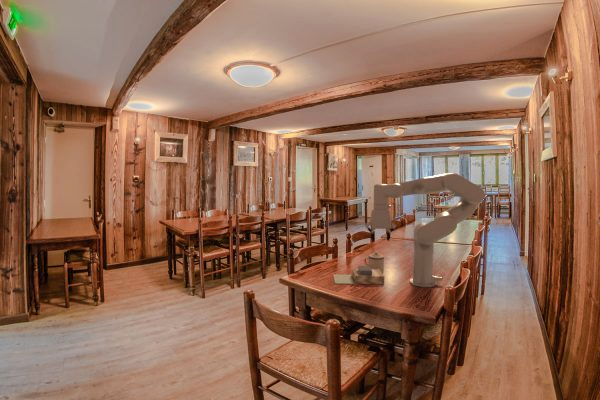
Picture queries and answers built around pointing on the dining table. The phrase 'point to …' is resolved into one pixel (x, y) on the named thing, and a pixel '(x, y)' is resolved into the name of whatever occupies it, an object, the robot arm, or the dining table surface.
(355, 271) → the board
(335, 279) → the placemat
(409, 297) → the dining table surface
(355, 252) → the dining table surface
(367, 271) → the coaster
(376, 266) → the teacup with lid
